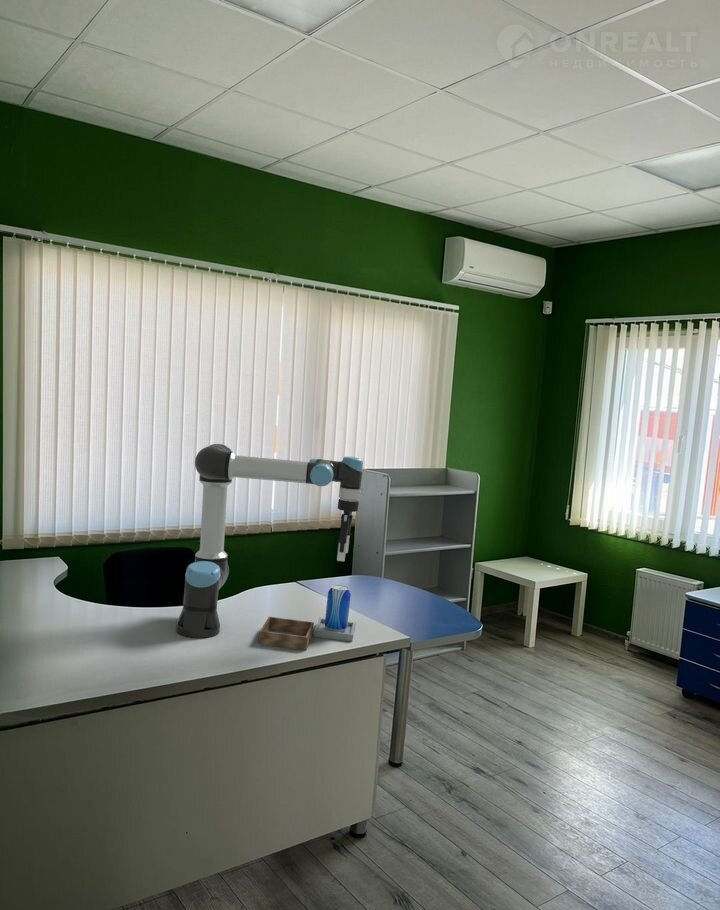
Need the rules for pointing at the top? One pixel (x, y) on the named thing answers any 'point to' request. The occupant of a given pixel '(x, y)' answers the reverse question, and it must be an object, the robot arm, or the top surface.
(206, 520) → the robot arm
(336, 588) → the beer can
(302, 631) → the crate
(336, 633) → the tray
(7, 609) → the top surface
